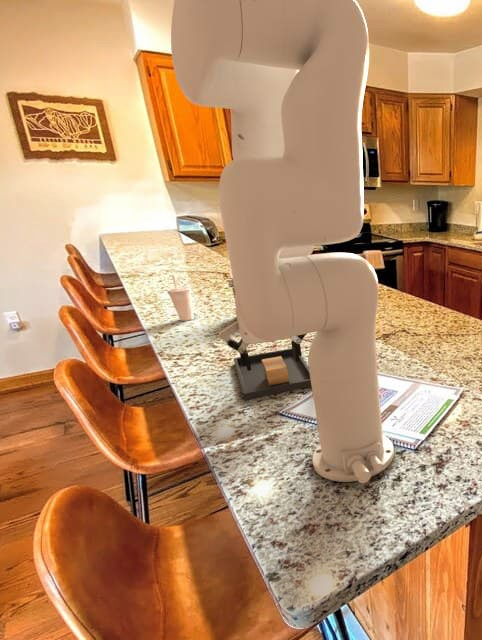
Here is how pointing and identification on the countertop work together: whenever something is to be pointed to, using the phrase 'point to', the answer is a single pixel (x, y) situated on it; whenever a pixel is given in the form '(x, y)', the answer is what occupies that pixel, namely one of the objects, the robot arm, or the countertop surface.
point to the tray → (255, 378)
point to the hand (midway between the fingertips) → (273, 363)
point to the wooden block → (275, 371)
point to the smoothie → (182, 301)
